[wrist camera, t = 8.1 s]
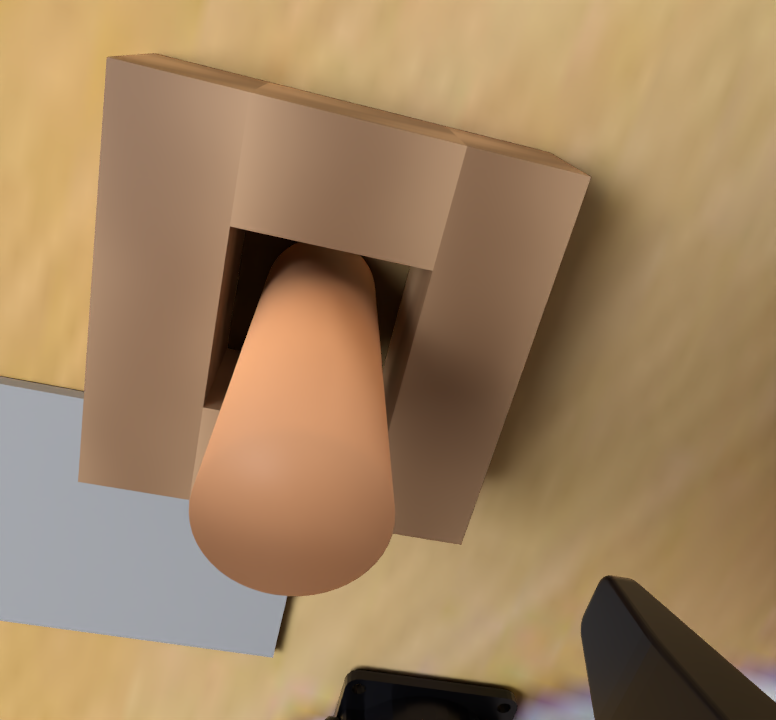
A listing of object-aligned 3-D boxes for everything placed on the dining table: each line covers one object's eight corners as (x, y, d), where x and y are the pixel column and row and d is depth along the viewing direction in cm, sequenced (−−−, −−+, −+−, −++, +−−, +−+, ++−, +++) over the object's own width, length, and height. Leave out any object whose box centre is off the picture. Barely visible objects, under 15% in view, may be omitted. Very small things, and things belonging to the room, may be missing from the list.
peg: (386, 251, 19) (417, 450, 10) (361, 350, 20) (369, 608, 11) (276, 227, 18) (202, 411, 9) (258, 329, 20) (177, 579, 11)
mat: (323, 435, 21) (323, 442, 21) (273, 648, 25) (272, 657, 24) (-97, 358, 19) (-107, 364, 19) (-86, 598, 23) (-92, 608, 23)
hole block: (548, 152, 18) (591, 177, 15) (445, 471, 22) (461, 544, 19) (154, 53, 17) (107, 56, 13) (120, 413, 21) (77, 481, 17)
